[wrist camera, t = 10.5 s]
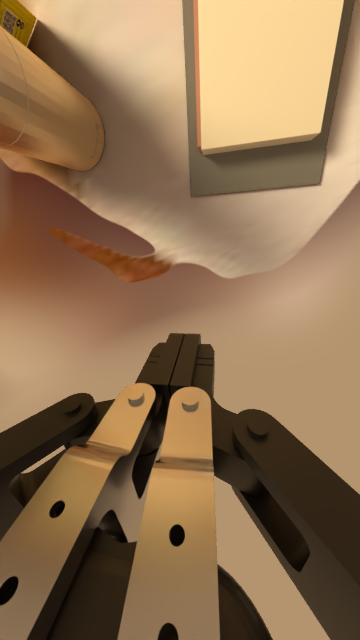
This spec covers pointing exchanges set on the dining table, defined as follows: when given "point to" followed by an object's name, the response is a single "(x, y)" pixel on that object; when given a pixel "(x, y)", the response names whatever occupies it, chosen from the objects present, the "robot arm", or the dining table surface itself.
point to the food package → (16, 20)
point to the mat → (264, 162)
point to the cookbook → (262, 70)
